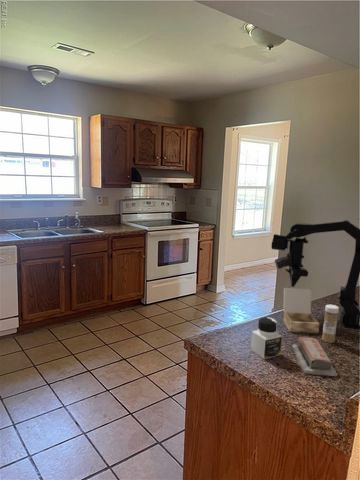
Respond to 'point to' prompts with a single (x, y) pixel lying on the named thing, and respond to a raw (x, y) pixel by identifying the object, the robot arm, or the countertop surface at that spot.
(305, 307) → the lid
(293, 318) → the box
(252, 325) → the countertop surface
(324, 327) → the sprinkles bottle
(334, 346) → the countertop surface
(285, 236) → the robot arm
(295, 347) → the packaged product
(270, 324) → the medicine bottle
